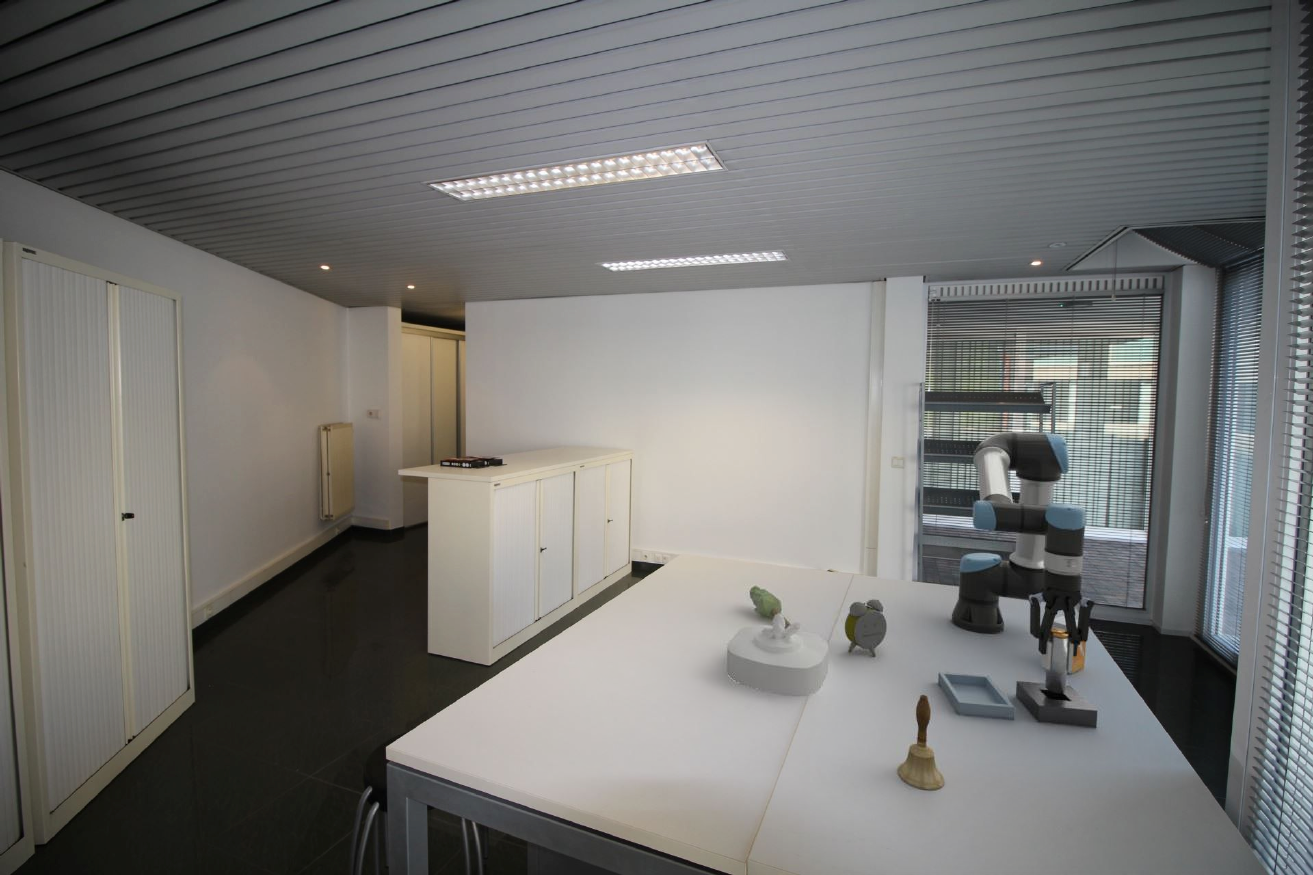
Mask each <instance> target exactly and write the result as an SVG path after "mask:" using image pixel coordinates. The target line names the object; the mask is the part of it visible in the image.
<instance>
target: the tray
mask: <svg viewBox="0 0 1313 875" xmlns="http://www.w3.org/2000/svg"><path fill="white" fill-rule="evenodd" d="M937 674H938V675H937V676H938V678H937V680H938V681H937V683H938V686H940V688H941V690H942V691H943V693H944V694H945V696H946V697H948V698H947V699H948V701H949V702H950V703H951V705H952V707H953V709H954V710H955V711H956V713H957V715H958V716H965V717H967V716H968V717H977V718H988V719H998V720H1009V721H1015V718H1016V717H1015V715H1016V707H1015V705H1014V704H1013V703H1012V702H1011V701H1010V699H1009V698H1008V697H1007V695H1005V693H1003V691H1002V690H1001V689H1000V688H999V686H998V685H997V684H996V683H995V681H994V680H993V679H992V678H991V677H990V676H989V675H984V674H983V675H982V674H969V673H960V672H959V673H957V672H949V671H947V672H946V671H938V673H937Z"/></svg>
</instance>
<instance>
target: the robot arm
mask: <svg viewBox="0 0 1313 875" xmlns="http://www.w3.org/2000/svg"><path fill="white" fill-rule="evenodd" d="M1069 456H1070V455H1069V449H1068V445H1067V441H1066V439H1065V437H1064V436H1063V435H1062V434H1057V433H1049V432H1048V433H1047V432H1010V431H1003V432H999V433H995V434H993V435H990V436H988V437H987V438H985V439H984V440H982V441H981V442H980V443H979V444H978V445H977V447H976V449H975V450H974V452H973V457H972V458H973V459H972V460H973V461H972V462H973V466H974V469H976V471H977V474H978V475H977V476H978V477H977V478H978V488H979V500H975V501H973V506H972V526H973V527H974V528H975V529H977V530H982V531H988V532H998V533H999V532H1002V533H1010V534H1011V533H1012V534H1016V542H1015V551H1013V552H1012V553H1010V554H1009V558H1008V559H1009V560H1002V557H1001V555H999V554H996V553H990V552H975V553H967V554H964V555H963V556H962V557H961V558H960V563H959V568H958V570H959V581H958V582H959V585H958V599H957V601H956V604H955V606H954V608H953V611H952V612H951V622H952V624H954V625H955V626H957V627H959V628H961V629H964V630H966V631H970V632H976V633H982V634H997V633H1002V632H1003V631H1004V629H1005V621H1004V619H1003V618H1004V617H1003V615H1002V611H1001V609H1000V604H999V603H1000V597H1001V598H1005V599H1007V598H1008V599H1014V600H1020V601H1021V600H1022V601H1028V602H1029V607H1030V608H1029V633H1030V635H1031V636H1033V638H1035V639H1038V645H1037V646H1038V648H1037V649H1038V652H1039V653H1040V654H1041V659H1040V660H1041V663H1040V664H1041V665H1042V667H1043V668H1044V669H1045V670H1046V669H1047V670H1050V664H1051V647H1052V643H1051V642H1050V641H1049V640H1048V639H1049V636H1050V632H1051V629H1052V625H1053V622H1054V619H1055V618H1056V616H1057V615H1058V612H1060V611H1062V612H1063V616H1065V622H1066V628H1067V632H1069V642H1068V658H1067V670H1068V671H1072V664H1073V656H1075V657H1076V655H1077V646H1078V645H1080V644H1081V642H1082V641H1083V642H1086V643H1087V642H1088V640H1089V639H1088V638H1089V630H1090V622H1091V613H1092V610H1093V607H1094V606H1095V602H1094V600H1091V599H1090V598H1089V597H1084V596H1083V594H1082V593H1081V590H1082V582H1083V580H1082V578H1083V574H1081V573H1082V572H1083V565H1084V564H1083V562H1084V545H1085V534H1086V533H1085V532H1086V525H1087V519H1086V509H1085V508H1084V507H1083V506H1080V505H1076V504H1071V503H1062V502H1061V503H1059V502H1056V503H1055V502H1054V503H1053V500H1054V493H1055V484H1056V483H1058V482H1060V481H1061V480H1062V474H1063V475H1065V474H1068V473H1069V468H1070V459H1069ZM1009 471H1015V477H1016V478H1017V479H1018V480H1019V481H1020V488H1019V489H1020V490H1019V491H1020V492H1019V501H1018V502H1019V503H1017V502H1016V503H1015V502H1014V501H1013V495H1012V489H1011V484H1010V482H1011V481H1010V477H1009ZM1042 603H1045V605H1044V612H1043V616H1042V620H1041V605H1042ZM1078 604H1079V608H1078V609H1079V610H1078V617H1077V620H1078V626H1076V620H1075V619H1076V609H1075V607H1077V605H1078Z"/></svg>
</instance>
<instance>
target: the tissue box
mask: <svg viewBox="0 0 1313 875" xmlns="http://www.w3.org/2000/svg"><path fill="white" fill-rule="evenodd" d="M781 614H782V613H781ZM781 614H780V613H778V614H776V615H775V616H774V618H772V625H769V624H768V625H767V624H763V625H761V624H760V625H751V626H745V627H743V628H740V629H738V631H737V632H736V633H735V634H734V636H733V637H732V638H730V640H729V641H728V643H727V647H726V648H727V651H726V652H727V653H726V655H727V656H726V674H727V673H728V674H727V676H728V675H729V676H730V678H732V679H733V680H735V681H736V682H735V681H734V682H735V683H737V682H739V683H740V684H739V683H738V684H739V685H741V684H743V685H742V686H744V685H746V686H745V687H747V686H749V687H748V688H751V687H752V689H755V688H758V689H757V690H760V689H761V690H760V691H765V692H768V691H770V692H771V693H773V694H777V693H779V694H778V695H783V696H788V695H789V697H807V695H808V696H810V695H809V694H811V693H813V692H815V691H818V690H819V689H820V688H821V686H822V685H823V686H824V684H823V682H824V680H825V681H826V679H827V677H826V675H827V676H828V674H827V673H829V650H830V648H829V647H830V646H829V642H827V640H825V639H824V638H823V637H821V636H819V635H817V634H814V633H812V632H808V631H803V630H802V631H801V630H800V629H801V628H802V625H801V623H800V622H793V623H792V624H791V623H790V624H791V625H789V626H788V627H787V628H786V629H784V628H785V619H786V618H785V619H784V617H785V616H784V615H783V614H782V615H783V616H784V617H783V616H782V615H781ZM729 676H728V677H729ZM730 678H729V679H730ZM825 678H826V679H825ZM732 679H731V680H732ZM733 680H732V681H733ZM824 683H825V682H824ZM823 686H822V687H823ZM821 689H822V688H821ZM821 689H820V690H821ZM820 690H819V691H820ZM819 691H818V692H819ZM811 695H812V694H811Z"/></svg>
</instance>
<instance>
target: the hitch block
mask: <svg viewBox="0 0 1313 875" xmlns="http://www.w3.org/2000/svg"><path fill="white" fill-rule="evenodd" d="M1015 698H1016V699H1017V701H1019V702H1020V704H1021V705H1022V706H1023V707H1024V708H1025V709H1026V710H1027V711H1028V712H1029V713H1030V715H1031V716H1032V717H1033V718H1034V720H1035V721H1036V722H1037V723H1041V724H1051V725H1061V726H1063V725H1064V726H1072V727H1073V726H1074V727H1083V728H1093V729H1095V728H1097V724H1098V709H1096V708H1095V707H1094V706H1093V705H1092V704H1091V703H1090V702H1089V701H1087V700H1086V699H1085V698H1084V697H1083V696H1082V695H1081V694H1080V693H1079V692H1077V690H1075V689H1074V688H1073V687H1072V686H1071V685H1067V684H1066V690H1065V692H1064V693H1056V692H1052V691H1050V690H1048V689H1046V688H1045V682H1044V683H1042V682H1034V681H1033V682H1032V681H1020V680H1016V687H1015Z"/></svg>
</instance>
